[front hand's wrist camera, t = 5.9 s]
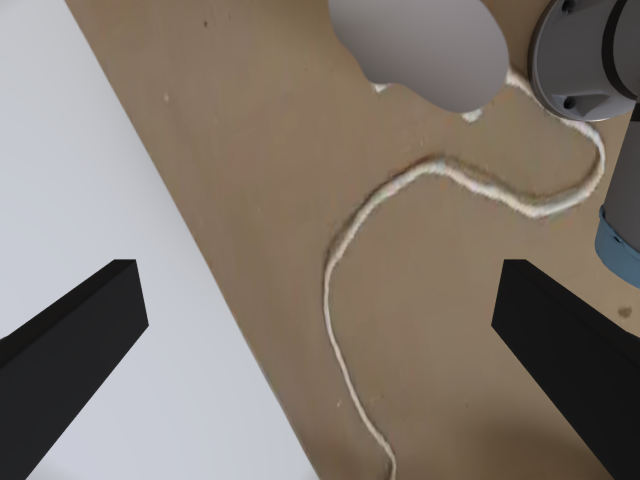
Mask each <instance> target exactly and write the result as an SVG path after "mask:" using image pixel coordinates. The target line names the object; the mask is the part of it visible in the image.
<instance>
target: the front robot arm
mask: <svg viewBox="0 0 640 480" xmlns="http://www.w3.org/2000/svg"><path fill="white" fill-rule="evenodd" d="M528 75H529V80H530V84H531V87H532V89H533V92H534V94H535V95H536V97H537V99H538V100H539V102H540V103H541V104H542V105H543V106H544V107H545V108H546V109H547V110H548V111H550V112H551V113H553V114H554V115H556V116H559V117H561V118H564V119H568V120H574V121H600V120H605V119H609V118H613V117H616V116H618V115H621V114H624V113H626V112H629V111H631V110H633V113H632V116H631V120H630V122H629V125H628V129H627V132H626V135H625V138H624V141H623V144H622V148H621V151H620V154H619V157H618V160H617V163H616V167H615V170H614V173H613V176H612V179H611V182H610V185H609V189H608V192H607V195H606V198H605V201H604V204H603V205H602V206H601V207H600V210H599V217H600V222H599V226H598V230H597V234H596V238H595V250H596V253H597V254H598V256H599V258H600V259H601V261H602V263H603V264H604V265H605V266H606V267H607V268H608V269H609V270H610V271H612V272H613V273H614V274H615V275H617V276H618V277H620V278H621V279H623V280H624V281H626V282H628V283H629V284H631V285H633V286H635V287H637V288H639V289H640V0H552V1H551V2H550V3H549V4H548V6H547V7H546V9H545V10H544V12H543V13H542V15H541V17H540V19H539V21H538V23H537V25H536V27H535V29H534V32H533V35H532V38H531V42H530V46H529V52H528ZM148 326H149V324H148V319H147V314H146V308H145V303H144V298H143V293H142V288H141V283H140V278H139V273H138V268H137V263H136V260H135V259H114V260H113V261H111V262H110V263H109V264H107V265H106V266H104V267H103V268H102V269H100V270H99V271H98V272H96V273H95V274H93V275H92V276H91V277H89V278H88V279H86V280H85V281H84V282H82V283H81V284H79V285H78V286H77V287H75V288H74V289H72V290H71V291H70V292H68V293H67V294H65V295H64V296H63V297H61V298H60V299H58V300H57V301H56V302H54V303H53V304H52V305H50V306H49V307H47V308H46V309H45V310H43V311H42V312H40V313H39V314H38V315H36V316H35V317H33V318H32V319H31V320H29V321H28V322H26V323H25V324H24V325H22V326H21V327H19V328H18V329H17V330H15V331H14V332H12V333H11V334H10V335H8V336H6V337H4V338H2V339H0V480H26V478H27V477H28V476H29V475H30V473H31V472H32V471H33V470H34V468H35V467H36V466H37V465H38V463H39V462H40V461H41V459H42V458H43V457H44V456H45V455H46V453H47V452H48V451H49V450H50V448H51V447H52V446H53V445H54V443H55V442H56V441H57V439H58V438H59V437H60V436H61V435H62V433H63V432H64V431H65V430H66V428H67V427H68V426H69V425H70V423H71V422H72V421H73V420H74V418H75V417H76V416H77V415H78V413H79V412H80V411H81V410H82V408H83V407H84V406H85V405H86V403H87V402H88V401H89V400H90V398H91V397H92V396H93V395H94V393H95V392H96V391H97V390H98V388H99V387H100V386H101V385H102V383H103V382H104V381H105V380H106V378H107V377H108V376H109V375H110V373H111V372H112V371H113V370H114V368H115V367H116V366H117V365H118V363H119V362H120V361H121V360H122V358H123V357H124V356H125V355H126V353H127V352H128V351H129V350H130V348H131V347H132V346H133V345H134V343H135V342H136V341H137V340H138V338H139V337H140V336H141V335H142V333H143V332H144V331H145V330H146V329H147V327H148ZM491 326H492V327H493V329H494V330H495V331H496V332H497V334H498V335H499V336H500V337H501V339H502V340H503V341H504V342H505V344H506V345H507V346H508V347H509V348H510V350H511V351H512V352H513V353H514V355H515V356H516V357H517V358H518V360H519V361H520V362H521V363H522V365H523V366H524V367H525V368H526V370H527V371H528V372H529V373H530V375H531V376H532V377H533V378H534V380H535V381H536V382H537V383H538V385H539V386H540V387H541V388H542V390H543V391H544V392H545V393H546V395H547V396H548V397H549V398H550V400H551V401H552V402H553V403H554V405H555V406H556V407H557V408H558V410H559V411H560V412H561V413H562V415H563V416H564V417H565V418H566V420H567V421H568V422H569V423H570V425H571V426H572V427H573V428H574V430H575V431H576V432H577V433H578V435H579V436H580V437H581V438H582V440H583V441H584V442H585V443H586V445H587V446H588V447H589V448H590V450H591V451H592V452H593V453H594V455H595V456H596V457H597V458H598V460H599V461H600V462H601V463H602V465H603V466H604V467H605V468H606V470H607V471H608V472H609V473H610V475H611V476H612V477H613V478H614V480H640V338H639V337H637V336H635V335H633V334H631V333H629V332H626V331H625V330H623V329H622V328H621V327H619V326H618V325H616V324H615V323H614V322H612V321H611V320H609V319H608V318H607V317H605V316H604V315H602V314H601V313H600V312H598V311H597V310H596V309H594V308H593V307H591V306H590V305H589V304H587V303H586V302H584V301H583V300H582V299H580V298H579V297H577V296H576V295H575V294H573V293H572V292H570V291H569V290H568V289H566V288H565V287H563V286H562V285H561V284H559V283H558V282H556V281H555V280H554V279H552V278H551V277H549V276H548V275H547V274H545V273H544V272H542V271H541V270H540V269H538V268H537V267H536V266H534V265H533V264H531V263H530V262H529V261H527V260H526V259H504V263H503V268H502V273H501V278H500V283H499V288H498V293H497V298H496V303H495V308H494V313H493V319H492V324H491Z"/></svg>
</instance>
